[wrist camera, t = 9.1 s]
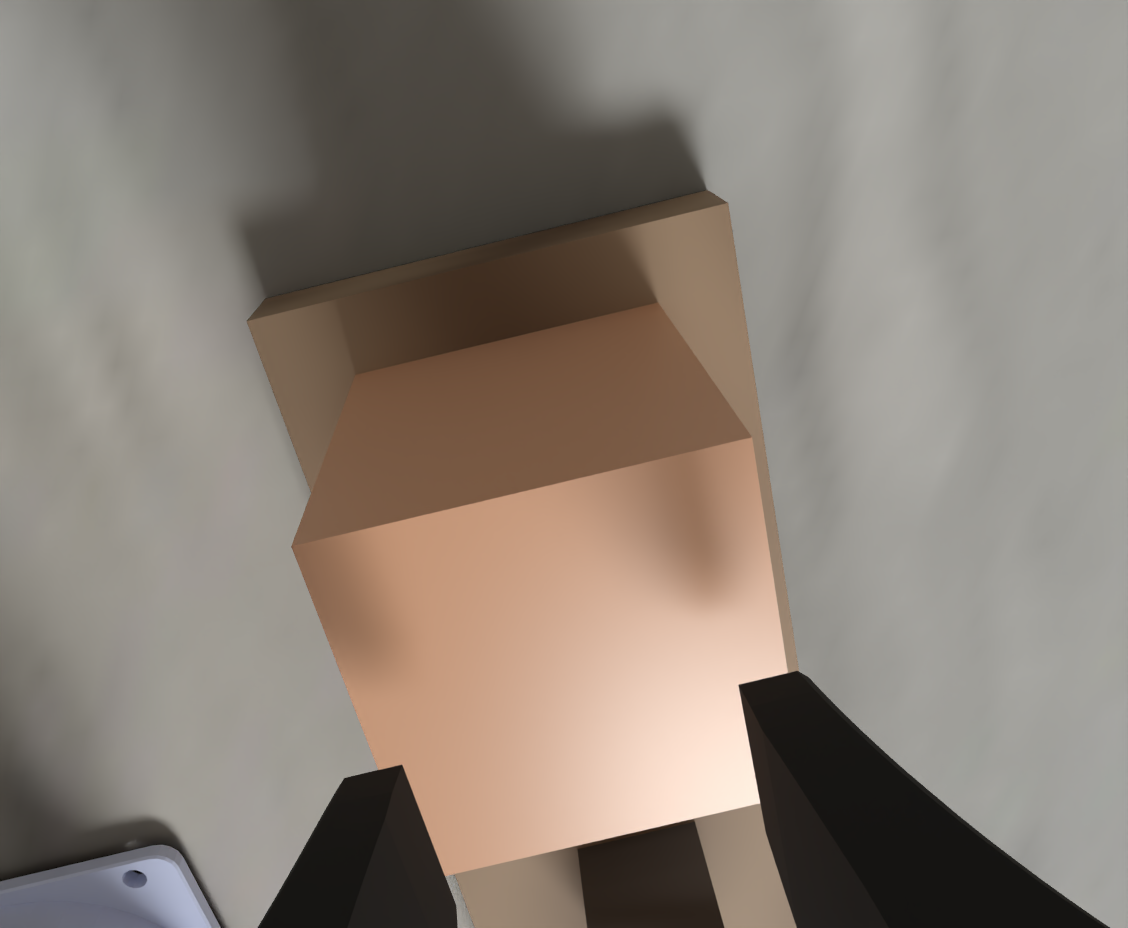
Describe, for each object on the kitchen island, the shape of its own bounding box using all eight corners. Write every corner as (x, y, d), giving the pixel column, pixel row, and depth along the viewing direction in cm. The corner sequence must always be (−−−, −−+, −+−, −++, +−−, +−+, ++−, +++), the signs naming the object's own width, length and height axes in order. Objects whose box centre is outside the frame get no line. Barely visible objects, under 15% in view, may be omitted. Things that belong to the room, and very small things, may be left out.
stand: (512, 979, 24) (523, 1252, 19) (265, 298, 17) (163, 420, 11) (822, 907, 24) (923, 1161, 19) (707, 189, 17) (818, 261, 11)
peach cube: (438, 628, 18) (421, 881, 13) (355, 374, 16) (291, 546, 11) (706, 565, 18) (805, 792, 13) (658, 302, 16) (752, 437, 10)
